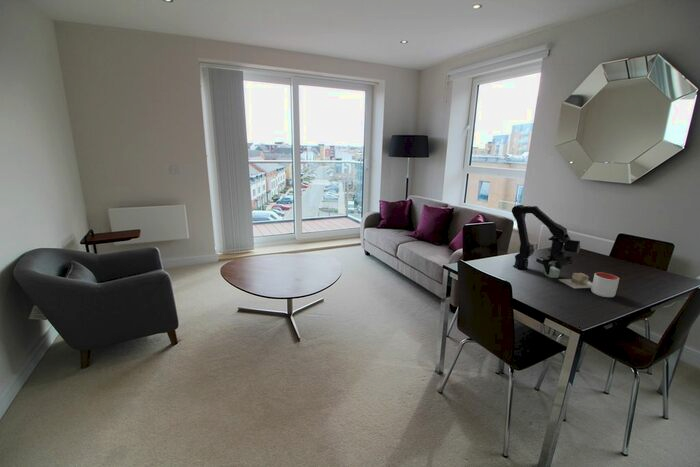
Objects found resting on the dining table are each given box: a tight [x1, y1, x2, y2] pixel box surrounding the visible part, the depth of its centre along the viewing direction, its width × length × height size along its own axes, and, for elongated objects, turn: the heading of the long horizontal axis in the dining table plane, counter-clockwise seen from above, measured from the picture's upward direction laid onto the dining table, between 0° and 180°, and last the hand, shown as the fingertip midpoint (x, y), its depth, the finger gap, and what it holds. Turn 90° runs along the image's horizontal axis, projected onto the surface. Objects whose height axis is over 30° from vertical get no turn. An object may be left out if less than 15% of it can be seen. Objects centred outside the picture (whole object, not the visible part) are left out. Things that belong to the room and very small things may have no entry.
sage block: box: [544, 266, 561, 279], centre depth 187 cm, size 5×5×5 cm
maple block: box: [571, 272, 590, 285], centre depth 177 cm, size 5×5×5 cm
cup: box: [590, 272, 620, 298], centre depth 164 cm, size 10×10×10 cm
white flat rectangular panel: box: [557, 278, 593, 289], centre depth 178 cm, size 16×12×1 cm
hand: (551, 274), depth 187 cm, fingers closed on sage block, 5 cm apart
